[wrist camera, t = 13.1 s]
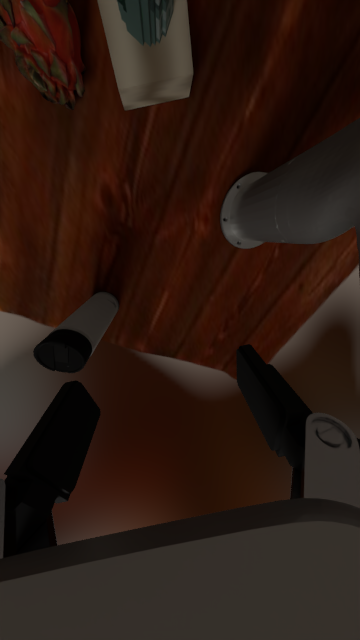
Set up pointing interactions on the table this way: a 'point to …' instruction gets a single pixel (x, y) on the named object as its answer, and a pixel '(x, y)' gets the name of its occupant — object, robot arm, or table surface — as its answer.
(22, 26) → the dragon fruit
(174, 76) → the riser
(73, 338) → the travel mug
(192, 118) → the table surface
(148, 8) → the can
